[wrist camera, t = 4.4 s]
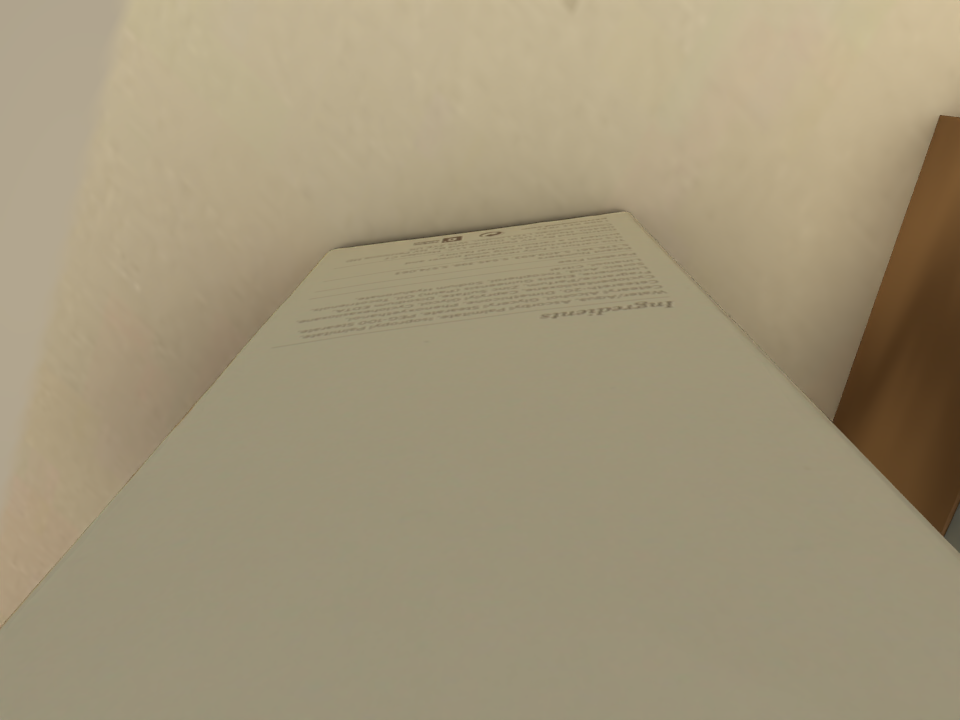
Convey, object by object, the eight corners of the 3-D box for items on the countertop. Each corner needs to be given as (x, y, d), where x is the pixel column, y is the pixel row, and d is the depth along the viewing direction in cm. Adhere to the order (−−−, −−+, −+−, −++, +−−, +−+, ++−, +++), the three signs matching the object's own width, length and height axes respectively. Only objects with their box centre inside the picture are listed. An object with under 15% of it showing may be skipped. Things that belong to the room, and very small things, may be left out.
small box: (323, 245, 14) (-546, 1137, 2) (633, 203, 14) (1546, 1023, 2) (394, 562, 17) (180, 1667, 5) (650, 536, 17) (1045, 1667, 5)
